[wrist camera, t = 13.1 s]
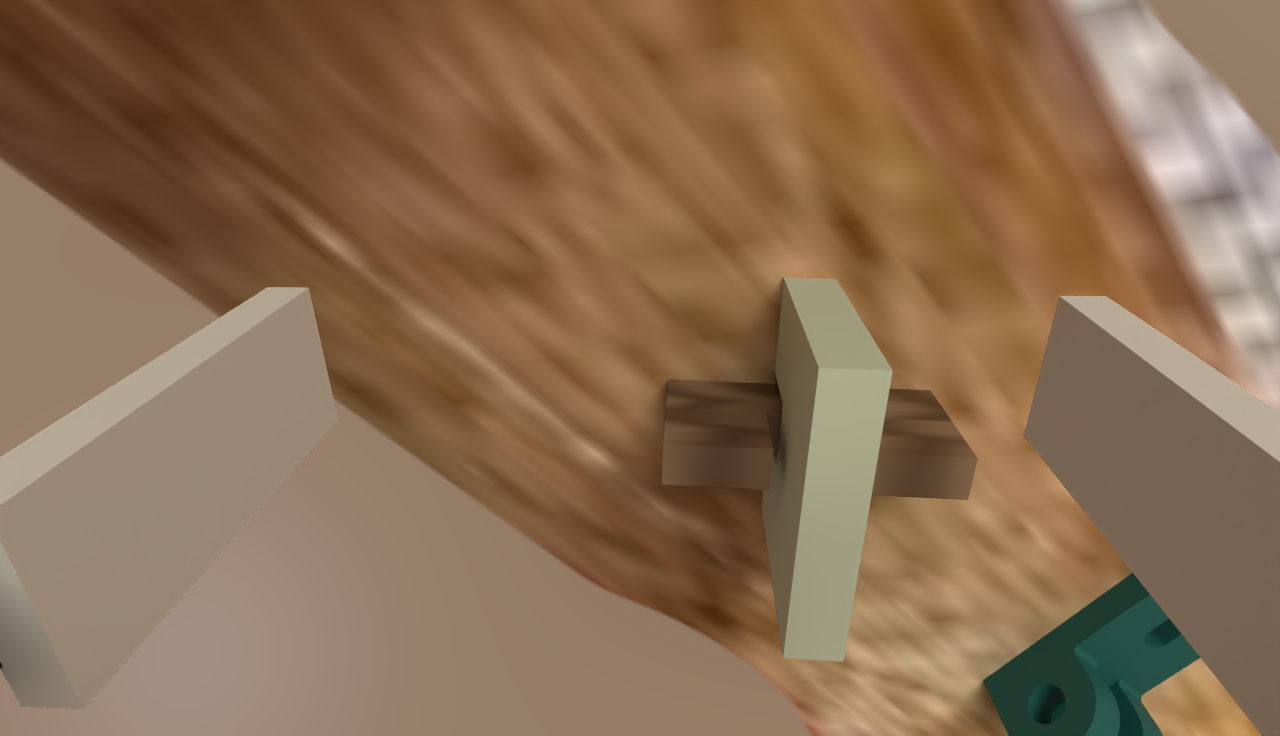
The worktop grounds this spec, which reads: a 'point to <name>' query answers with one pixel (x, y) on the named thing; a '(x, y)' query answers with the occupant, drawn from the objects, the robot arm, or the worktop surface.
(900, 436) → the walnut slotted plate
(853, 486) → the sage slotted plate
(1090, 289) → the worktop surface
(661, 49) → the worktop surface
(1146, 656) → the bracket
